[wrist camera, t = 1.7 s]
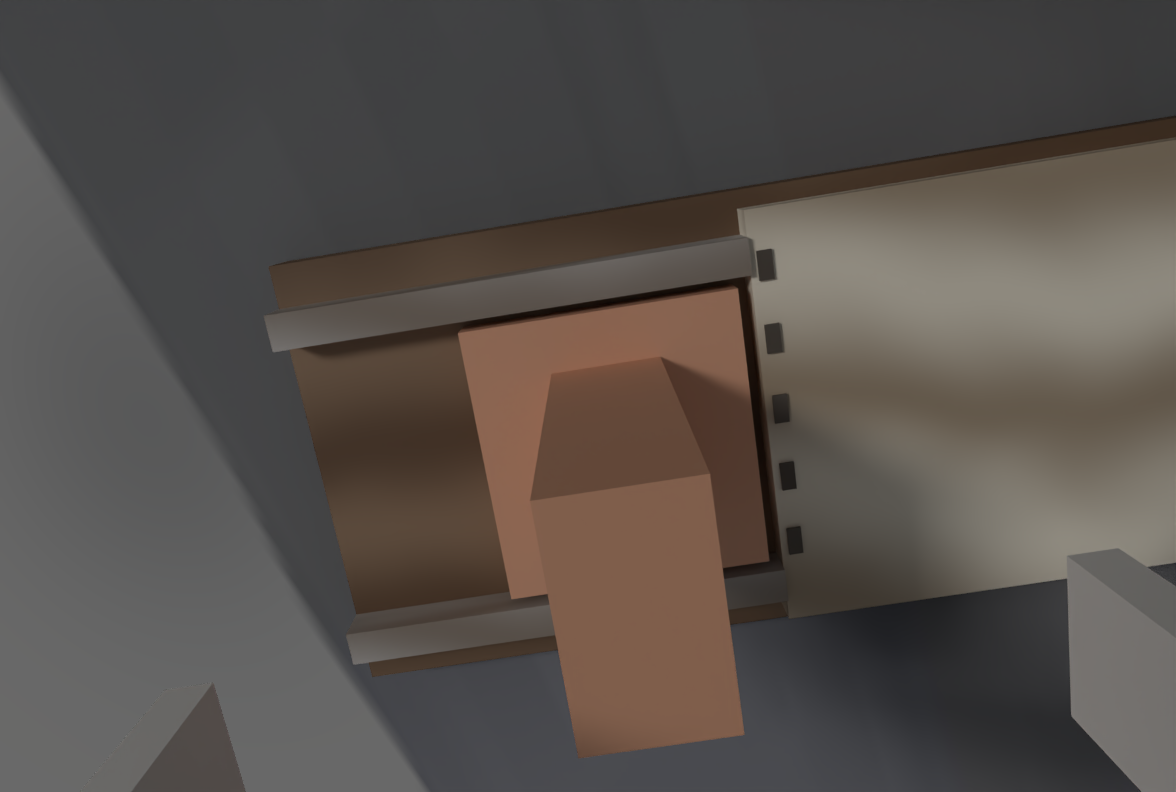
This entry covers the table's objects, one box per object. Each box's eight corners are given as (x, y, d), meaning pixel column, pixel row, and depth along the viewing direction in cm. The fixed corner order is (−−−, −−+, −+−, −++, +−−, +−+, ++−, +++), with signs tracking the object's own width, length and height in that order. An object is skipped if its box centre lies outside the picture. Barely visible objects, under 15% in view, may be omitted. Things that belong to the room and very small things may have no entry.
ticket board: (287, 261, 25) (252, 271, 22) (1253, 103, 24) (1335, 93, 21) (383, 650, 28) (362, 699, 25) (1238, 525, 27) (1308, 562, 24)
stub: (462, 326, 24) (373, 436, 14) (731, 284, 23) (842, 363, 13) (514, 583, 26) (469, 844, 16) (762, 546, 25) (879, 787, 15)
